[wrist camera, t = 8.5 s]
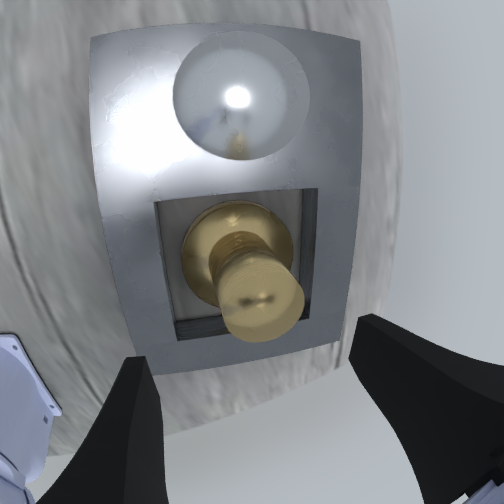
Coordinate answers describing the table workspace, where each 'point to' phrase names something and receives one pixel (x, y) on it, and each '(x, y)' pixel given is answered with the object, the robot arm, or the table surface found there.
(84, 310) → the table surface
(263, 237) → the gold flanged round piece
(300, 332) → the carrier plate
